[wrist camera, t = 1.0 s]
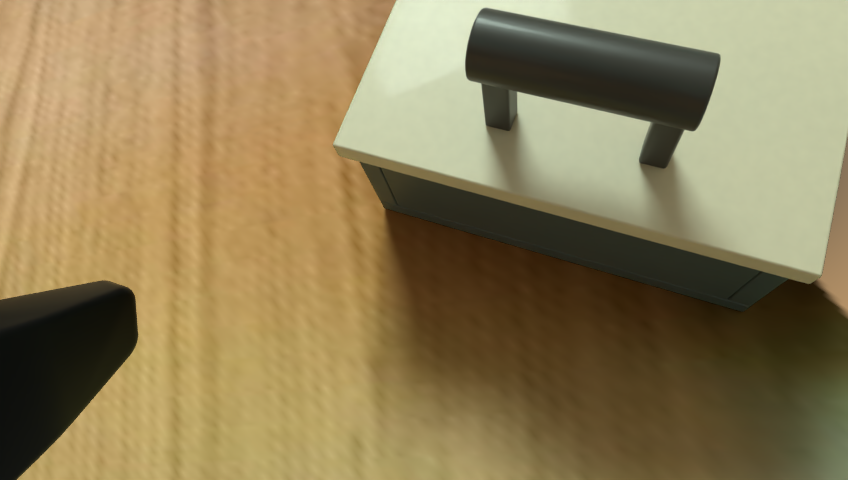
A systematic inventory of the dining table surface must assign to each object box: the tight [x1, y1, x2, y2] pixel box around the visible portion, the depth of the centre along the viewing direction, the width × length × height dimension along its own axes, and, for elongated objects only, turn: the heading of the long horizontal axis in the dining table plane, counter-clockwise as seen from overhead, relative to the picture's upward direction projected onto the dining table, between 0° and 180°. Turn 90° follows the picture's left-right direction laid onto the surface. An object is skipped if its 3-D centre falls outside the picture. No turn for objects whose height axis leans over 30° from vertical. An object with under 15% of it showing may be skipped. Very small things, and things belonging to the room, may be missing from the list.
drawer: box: [360, 162, 788, 312], centre depth 21 cm, size 11×12×5 cm
